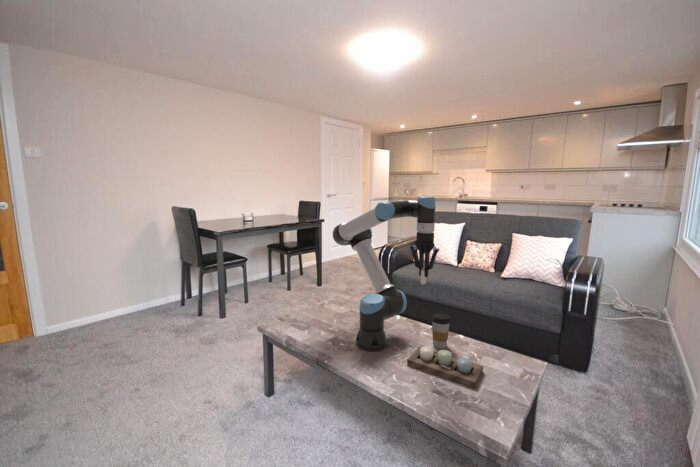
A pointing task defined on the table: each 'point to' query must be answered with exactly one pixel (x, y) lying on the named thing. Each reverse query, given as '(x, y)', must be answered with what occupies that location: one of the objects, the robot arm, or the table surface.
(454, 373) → the wooden tray
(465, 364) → the pale blue rounded knob
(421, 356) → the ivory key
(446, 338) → the coffee cup
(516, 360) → the table surface
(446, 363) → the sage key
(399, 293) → the robot arm
